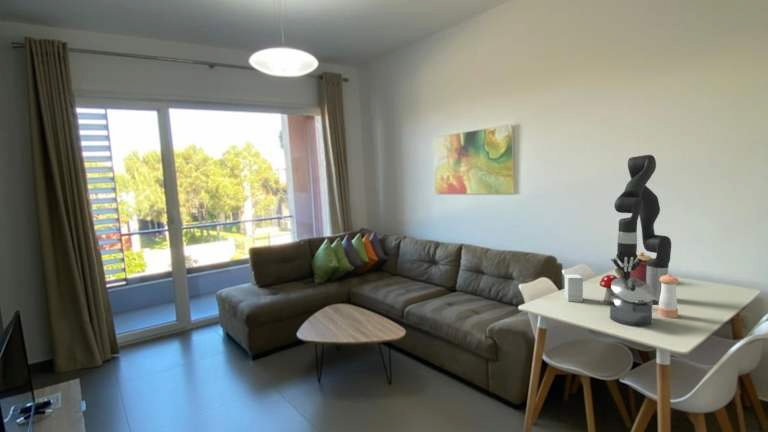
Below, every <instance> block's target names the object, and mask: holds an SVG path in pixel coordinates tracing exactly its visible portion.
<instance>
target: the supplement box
mask: <svg viewBox="0 0 768 432" xmlns="http://www.w3.org/2000/svg"><path fill="white" fill-rule="evenodd" d="M583 282H584V278H583V277H582V276H581V275H580V274H564V299H566V301H567V302H575V303H576V302H577V303H578V302H580V303H581V302H584V301H583V300H584V295H583V293H584V291H583V290H584V283H583Z"/></svg>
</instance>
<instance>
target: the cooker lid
mask: <svg viewBox="0 0 768 432" xmlns="http://www.w3.org/2000/svg"><path fill="white" fill-rule="evenodd" d="M614 272H615V273H616V276H617V277H618V278H616V279H614V280H613V281H612V283H611V290H612V292H613V293H614V294H615V295H616V296H618V297H619V298H621V299H623V300H625V301H627V302H631V303H635V304H647V303H649V302H651V301H652V300H653V299H654V296H655V292H654V290H653V289H652V287H651V286H649V285H648V284H647V283H645V282H643V281H641V280H638V279H635V278H631V277H630V278H629V280H625V279H624V278H623V277H622V270H620V269H618V268H617V267H616V268H615V270H614Z"/></svg>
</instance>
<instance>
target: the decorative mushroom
mask: <svg viewBox="0 0 768 432" xmlns="http://www.w3.org/2000/svg"><path fill="white" fill-rule="evenodd" d="M616 278H619V276H617V275H613V274H606V275H605V276H604V275H603V277H602V278H601V279H600V282H599V286H600V287H602V288H605V289H606V290H605V294H604V297H603V299H602V303H603V304H604V300H610V296H611V295H612V294H614V293H613V292H612V290H611V283H612V281H613V280H614V279H616ZM604 305H605V306H607V305H606V304H604ZM608 306H609V307H610V305H608Z"/></svg>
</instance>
